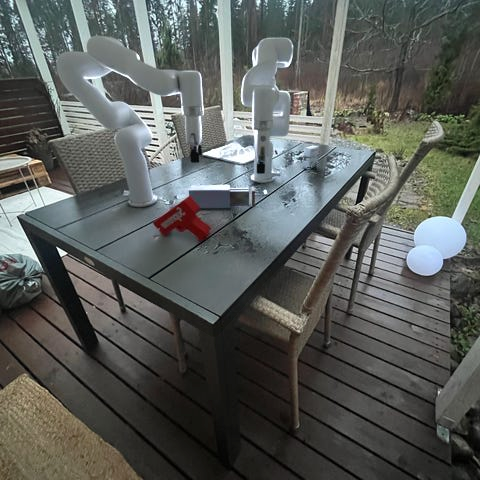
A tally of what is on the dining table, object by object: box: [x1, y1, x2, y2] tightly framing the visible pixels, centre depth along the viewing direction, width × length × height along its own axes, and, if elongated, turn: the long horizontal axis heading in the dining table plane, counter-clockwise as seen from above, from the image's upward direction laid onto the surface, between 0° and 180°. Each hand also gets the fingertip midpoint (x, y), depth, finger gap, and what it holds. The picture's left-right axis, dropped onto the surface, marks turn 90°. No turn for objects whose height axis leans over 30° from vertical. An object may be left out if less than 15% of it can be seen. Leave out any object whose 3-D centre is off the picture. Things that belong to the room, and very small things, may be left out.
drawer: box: [230, 186, 269, 208], centre depth 116 cm, size 21×5×7 cm, turn 91°
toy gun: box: [152, 195, 212, 243], centre depth 96 cm, size 18×4×15 cm
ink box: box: [301, 144, 320, 170], centre depth 160 cm, size 8×5×12 cm, turn 134°
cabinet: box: [188, 184, 231, 211], centre depth 116 cm, size 17×6×9 cm, turn 91°
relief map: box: [201, 141, 254, 165], centre depth 184 cm, size 27×35×5 cm
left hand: (196, 158), depth 107 cm, fingers open, 9 cm apart
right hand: (260, 172), depth 110 cm, fingers closed
